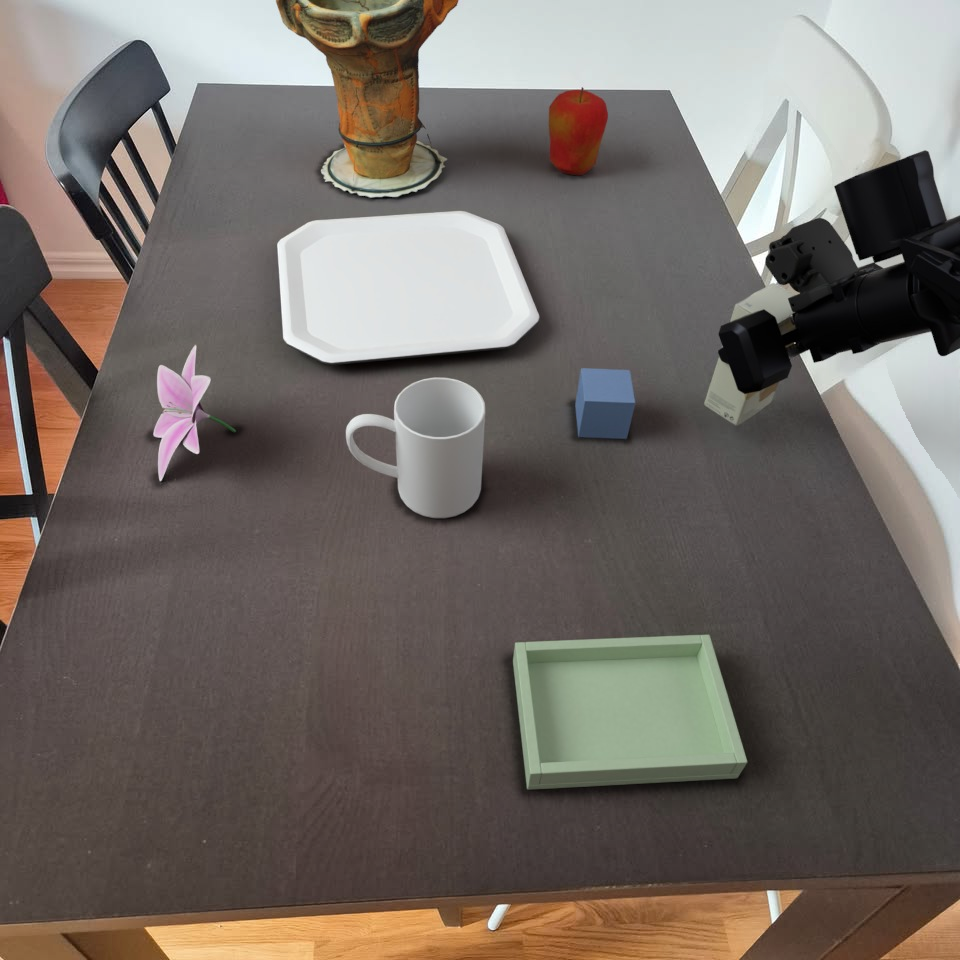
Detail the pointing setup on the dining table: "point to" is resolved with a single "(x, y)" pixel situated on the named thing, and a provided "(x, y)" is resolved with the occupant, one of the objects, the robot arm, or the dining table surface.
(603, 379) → the blue block
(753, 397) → the cosmetic box
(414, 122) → the decorative vase
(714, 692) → the sage tray
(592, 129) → the apple
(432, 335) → the plate
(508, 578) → the dining table surface
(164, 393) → the lily
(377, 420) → the mug
